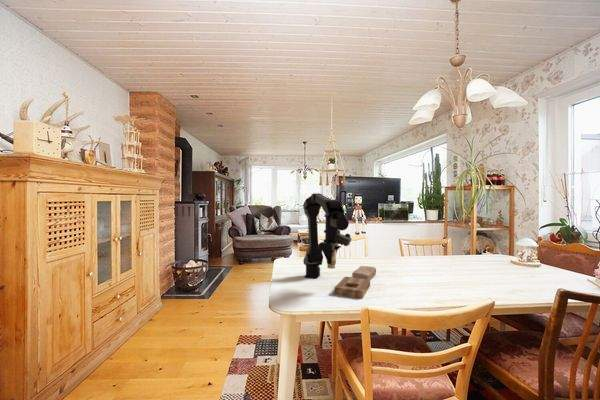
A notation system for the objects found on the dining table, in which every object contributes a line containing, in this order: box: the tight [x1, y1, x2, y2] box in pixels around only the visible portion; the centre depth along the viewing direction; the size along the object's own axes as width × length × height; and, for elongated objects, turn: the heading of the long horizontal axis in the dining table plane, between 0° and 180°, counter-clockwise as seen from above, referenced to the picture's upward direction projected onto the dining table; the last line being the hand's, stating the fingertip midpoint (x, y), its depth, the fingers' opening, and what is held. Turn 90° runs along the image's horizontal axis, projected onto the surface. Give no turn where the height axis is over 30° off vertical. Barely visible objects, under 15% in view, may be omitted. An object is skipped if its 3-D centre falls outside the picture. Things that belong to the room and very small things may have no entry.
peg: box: [326, 250, 337, 269], centre depth 126 cm, size 4×4×8 cm
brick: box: [351, 265, 377, 281], centre depth 147 cm, size 16×8×5 cm, turn 151°
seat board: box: [333, 276, 371, 300], centre depth 127 cm, size 12×18×3 cm, turn 157°
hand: (331, 263), depth 126 cm, fingers closed on peg, 4 cm apart
